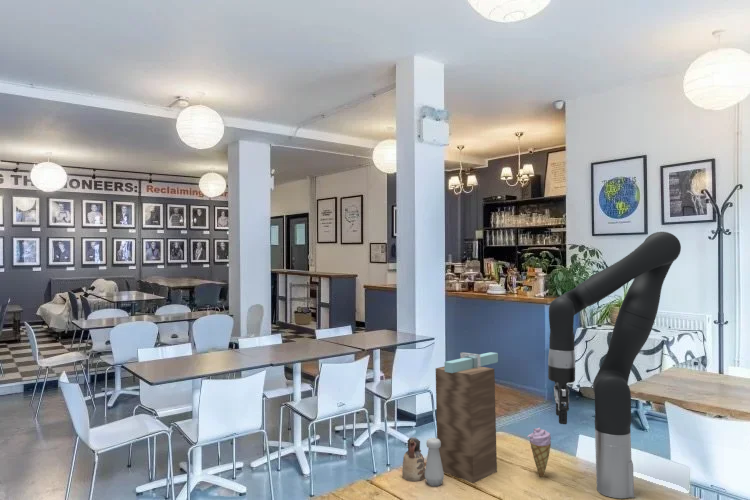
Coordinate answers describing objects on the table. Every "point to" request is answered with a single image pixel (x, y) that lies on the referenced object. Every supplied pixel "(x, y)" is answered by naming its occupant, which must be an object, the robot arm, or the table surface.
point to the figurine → (413, 462)
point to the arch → (475, 358)
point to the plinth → (467, 422)
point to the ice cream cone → (540, 449)
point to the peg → (470, 362)
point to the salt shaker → (434, 463)
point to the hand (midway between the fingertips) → (561, 419)
